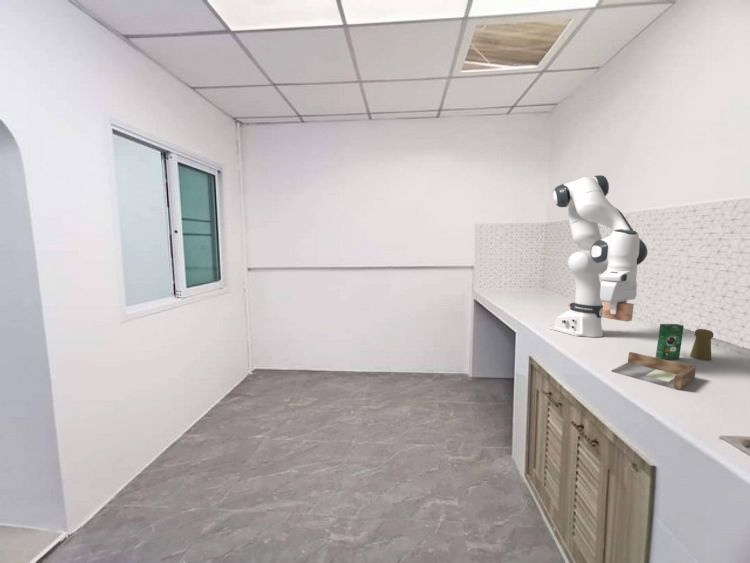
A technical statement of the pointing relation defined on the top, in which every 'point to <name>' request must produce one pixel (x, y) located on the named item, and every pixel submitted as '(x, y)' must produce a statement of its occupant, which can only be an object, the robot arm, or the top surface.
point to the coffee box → (669, 341)
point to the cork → (702, 345)
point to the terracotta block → (619, 311)
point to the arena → (657, 371)
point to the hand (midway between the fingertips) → (617, 313)
